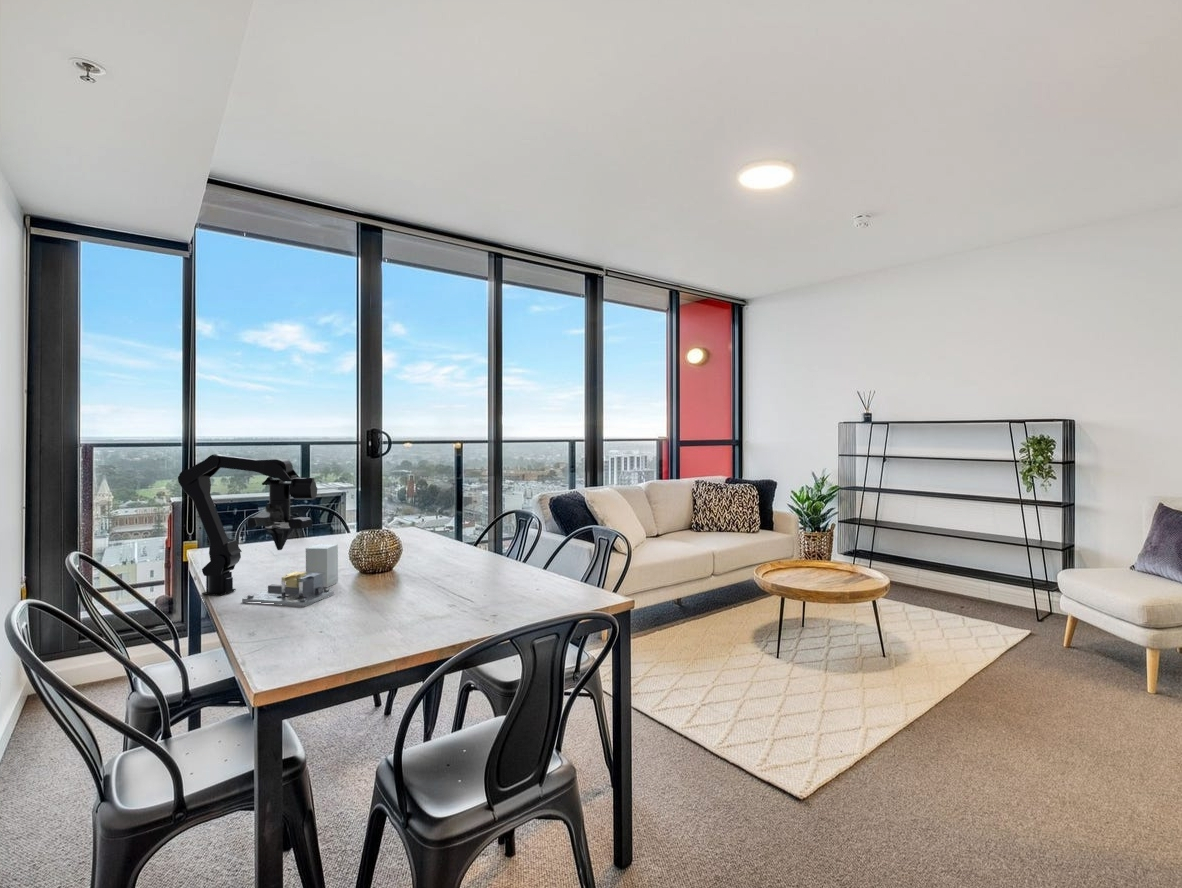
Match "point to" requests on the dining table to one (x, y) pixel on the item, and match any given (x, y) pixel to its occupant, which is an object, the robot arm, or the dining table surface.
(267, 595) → the bolt plate
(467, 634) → the dining table surface
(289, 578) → the yellow chamfered block
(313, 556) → the supplement box
